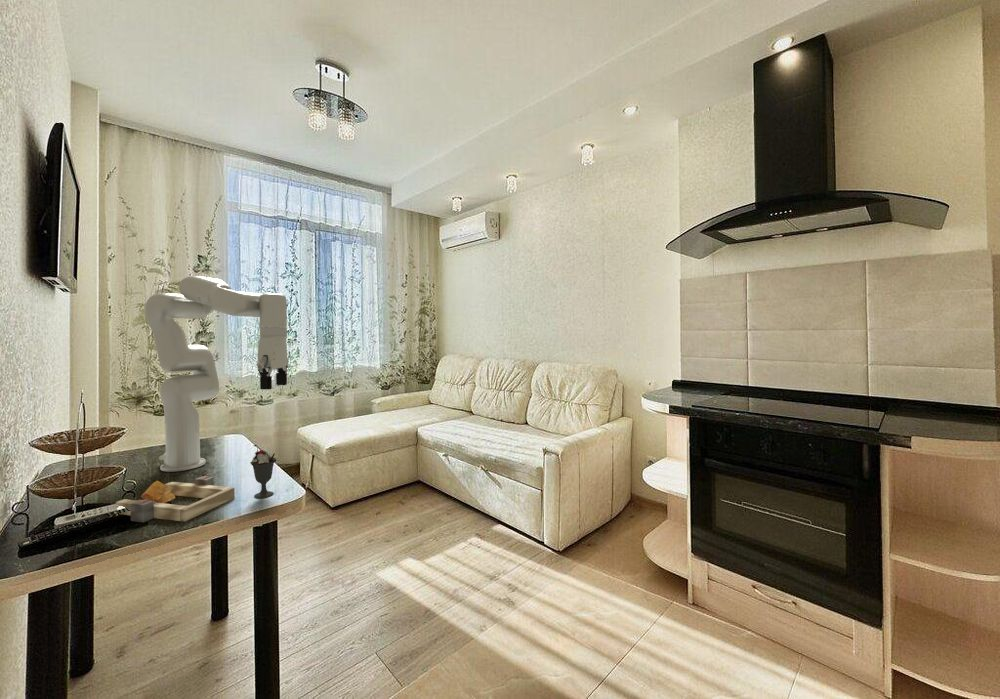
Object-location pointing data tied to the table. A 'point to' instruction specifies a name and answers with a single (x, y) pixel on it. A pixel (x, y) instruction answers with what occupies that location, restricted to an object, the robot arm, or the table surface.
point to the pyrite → (158, 493)
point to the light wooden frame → (200, 489)
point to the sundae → (263, 471)
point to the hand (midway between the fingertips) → (274, 387)
